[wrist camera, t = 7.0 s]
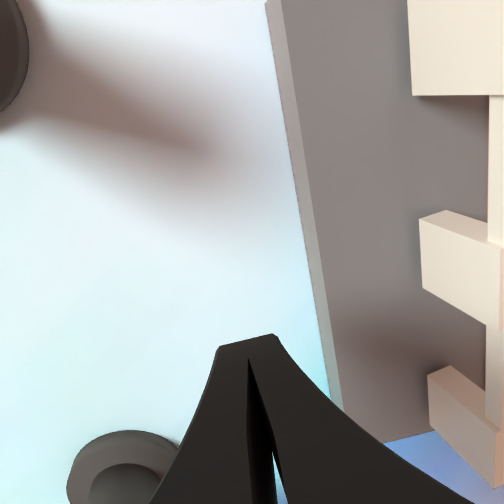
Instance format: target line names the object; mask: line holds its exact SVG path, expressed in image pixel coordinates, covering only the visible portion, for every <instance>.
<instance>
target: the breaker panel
mask: <svg viewBox="0 0 504 504" xmlns="http://www.w3.org/2000/svg"><path fill="white" fill-rule="evenodd" d="M265 8H266V14H267V20H268V26H269V32H270V38H271V44H272V50H273V56H274V62H275V68H276V74H277V80H278V86H279V92H280V98H281V104H282V110H283V116H284V122H285V128H286V134H287V140H288V146H289V152H290V158H291V164H292V170H293V176H294V182H295V188H296V194H297V200H298V206H299V212H300V218H301V224H302V230H303V235H304V241H305V247H306V253H307V259H308V265H309V271H310V277H311V283H312V289H313V295H314V301H315V307H316V313H317V319H318V325H319V331H320V337H321V343H322V349H323V355H324V361H325V367H326V373H327V379H328V385H329V391H330V397H331V401H332V402H333V403H334V404H335V405H336V406H338V407H339V408H340V409H341V410H342V411H343V412H344V413H345V414H346V415H347V416H349V417H350V418H351V419H352V420H353V421H354V422H356V423H357V424H358V425H359V426H360V427H362V428H363V429H364V430H365V431H367V432H368V433H369V434H370V435H372V436H373V437H374V438H376V439H377V440H378V441H379V442H381V443H387V442H391V441H395V440H399V439H403V438H407V437H411V436H415V435H419V434H423V433H427V432H431V431H435V430H434V429H433V428H432V427H431V426H430V420H429V401H428V382H427V375H429V374H431V373H433V372H436V371H438V370H440V369H443V368H445V367H447V366H449V365H451V366H452V367H453V368H455V369H456V370H457V371H459V372H460V373H461V374H463V375H464V376H465V377H467V378H468V379H469V380H470V381H472V382H473V383H474V384H476V385H477V386H478V387H480V388H481V389H482V390H484V391H485V387H486V325H485V324H483V323H482V322H480V321H478V320H477V319H475V318H473V317H471V316H470V315H468V314H466V313H465V312H463V311H461V310H460V309H458V308H456V307H454V306H453V305H451V304H449V303H448V302H446V301H444V300H443V299H441V298H439V297H437V296H436V295H434V294H432V293H431V292H429V291H427V290H426V289H424V288H422V270H421V251H420V232H419V219H420V218H423V217H426V216H429V215H432V214H435V213H438V212H441V211H444V210H448V211H451V212H454V213H458V214H461V215H464V216H467V217H470V218H473V219H476V220H479V221H482V222H486V223H488V165H489V95H417V96H412V81H411V63H410V44H409V25H408V6H407V0H267V2H266V3H265Z"/></svg>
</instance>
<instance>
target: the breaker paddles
mask: <svg viewBox="0 0 504 504" xmlns="http://www.w3.org/2000/svg"><path fill="white" fill-rule="evenodd" d="M407 6H408V25H409V44H410V63H411V81H412V96H417V95H489V165H488V223H486V222H482V221H479V220H476V219H473V218H470V217H467V216H464V215H461V214H458V213H454V212H451V211H448V210H444V211H441V212H438V213H435V214H432V215H429V216H426V217H423V218H420V219H419V232H420V251H421V270H422V288H424V289H426V290H427V291H429V292H431V293H432V294H434V295H436V296H437V297H439V298H441V299H443V300H444V301H446V302H448V303H449V304H451V305H453V306H454V307H456V308H458V309H460V310H461V311H463V312H465V313H466V314H468V315H470V316H471V317H473V318H475V319H477V320H478V321H480V322H482V323H483V324H485V325H486V387H485V391H484V390H482V389H481V388H480V387H478V386H477V385H476V384H474V383H473V382H472V381H470V380H469V379H468V378H467V377H465V376H464V375H463V374H461V373H460V372H459V371H457V370H456V369H455V368H453V367H452V366H451V365H449V366H447V367H445V368H443V369H440V370H438V371H436V372H433V373H431V374H429V375H427V382H428V401H429V420H430V426H431V427H432V428H433V429H434V430H435V431H436V432H437V433H438V434H439V435H440V436H441V437H442V438H443V439H444V440H445V441H446V442H447V443H448V444H449V445H450V446H451V447H452V448H453V449H454V450H455V451H456V452H457V453H458V454H459V455H460V456H461V457H462V458H463V459H464V460H465V461H466V462H467V463H468V464H469V465H470V466H471V467H472V468H473V469H474V470H475V471H476V472H477V473H478V474H480V475H481V476H482V477H483V478H484V479H485V480H486V481H487V482H488V483H489V484H490V485H491V486H492V487H493V488H494V489H496V488H497V487H499V486H501V485H503V484H504V0H407Z"/></svg>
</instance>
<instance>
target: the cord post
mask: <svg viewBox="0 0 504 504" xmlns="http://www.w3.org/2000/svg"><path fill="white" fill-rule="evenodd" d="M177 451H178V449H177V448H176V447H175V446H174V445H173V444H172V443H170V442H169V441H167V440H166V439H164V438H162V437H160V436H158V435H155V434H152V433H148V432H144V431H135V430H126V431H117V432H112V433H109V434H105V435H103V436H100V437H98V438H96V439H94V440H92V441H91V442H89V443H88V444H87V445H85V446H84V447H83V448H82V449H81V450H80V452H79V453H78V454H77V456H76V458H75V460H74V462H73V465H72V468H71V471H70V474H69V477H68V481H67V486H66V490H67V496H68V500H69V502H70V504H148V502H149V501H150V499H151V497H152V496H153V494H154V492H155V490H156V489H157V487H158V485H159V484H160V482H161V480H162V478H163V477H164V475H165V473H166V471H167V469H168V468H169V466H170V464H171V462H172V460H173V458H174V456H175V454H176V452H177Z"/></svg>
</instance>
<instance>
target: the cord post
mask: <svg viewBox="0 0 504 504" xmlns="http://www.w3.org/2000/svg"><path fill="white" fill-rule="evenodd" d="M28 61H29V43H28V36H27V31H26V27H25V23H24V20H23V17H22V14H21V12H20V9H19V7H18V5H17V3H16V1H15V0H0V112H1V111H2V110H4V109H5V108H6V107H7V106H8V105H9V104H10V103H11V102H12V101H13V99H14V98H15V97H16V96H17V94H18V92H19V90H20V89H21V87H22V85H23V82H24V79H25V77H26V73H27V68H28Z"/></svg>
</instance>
